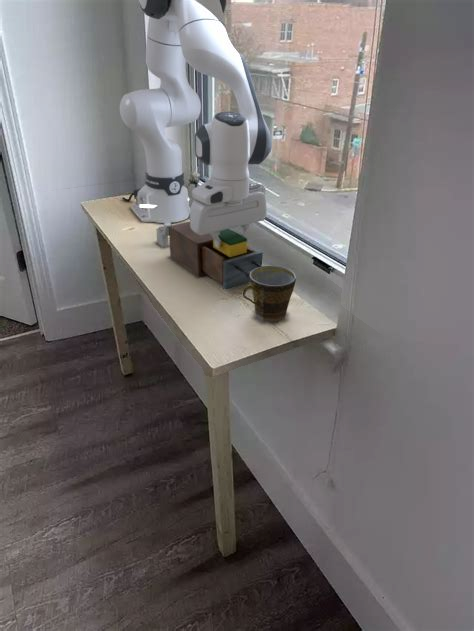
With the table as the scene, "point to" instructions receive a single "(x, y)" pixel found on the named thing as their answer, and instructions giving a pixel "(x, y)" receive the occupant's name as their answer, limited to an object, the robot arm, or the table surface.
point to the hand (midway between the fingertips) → (229, 243)
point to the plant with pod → (194, 178)
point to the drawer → (229, 265)
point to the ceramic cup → (271, 292)
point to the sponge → (232, 243)
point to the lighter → (163, 234)
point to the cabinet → (187, 246)
